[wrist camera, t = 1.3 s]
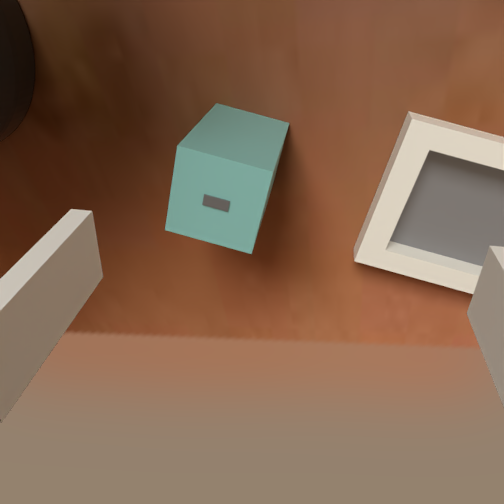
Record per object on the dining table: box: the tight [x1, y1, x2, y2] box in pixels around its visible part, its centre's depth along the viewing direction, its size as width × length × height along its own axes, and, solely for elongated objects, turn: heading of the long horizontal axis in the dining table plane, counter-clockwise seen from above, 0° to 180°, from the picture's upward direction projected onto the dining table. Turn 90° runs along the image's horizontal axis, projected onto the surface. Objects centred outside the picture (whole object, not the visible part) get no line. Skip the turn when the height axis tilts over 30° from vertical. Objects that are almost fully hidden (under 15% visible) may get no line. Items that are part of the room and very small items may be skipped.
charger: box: [165, 103, 289, 254], centre depth 29 cm, size 5×5×9 cm
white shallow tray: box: [354, 111, 504, 294], centre depth 32 cm, size 16×10×2 cm, turn 77°
